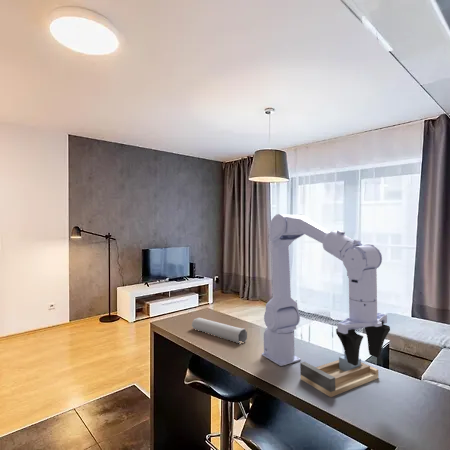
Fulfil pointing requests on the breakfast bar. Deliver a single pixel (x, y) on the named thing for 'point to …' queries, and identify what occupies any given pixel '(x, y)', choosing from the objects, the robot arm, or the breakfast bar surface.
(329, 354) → the breakfast bar surface
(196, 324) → the tube
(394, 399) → the breakfast bar surface
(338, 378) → the track
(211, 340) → the breakfast bar surface
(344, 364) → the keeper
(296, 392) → the breakfast bar surface
